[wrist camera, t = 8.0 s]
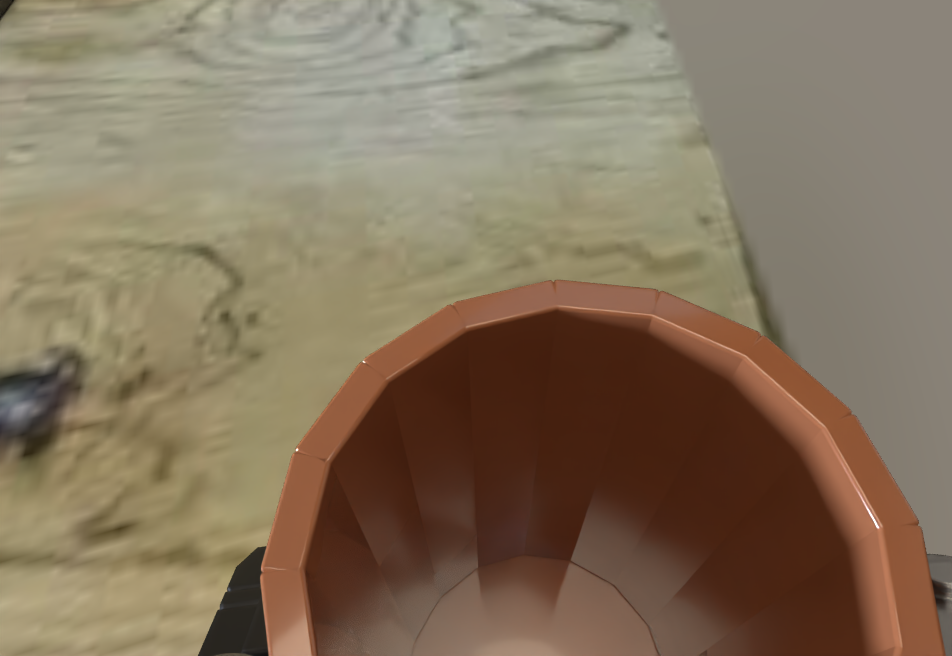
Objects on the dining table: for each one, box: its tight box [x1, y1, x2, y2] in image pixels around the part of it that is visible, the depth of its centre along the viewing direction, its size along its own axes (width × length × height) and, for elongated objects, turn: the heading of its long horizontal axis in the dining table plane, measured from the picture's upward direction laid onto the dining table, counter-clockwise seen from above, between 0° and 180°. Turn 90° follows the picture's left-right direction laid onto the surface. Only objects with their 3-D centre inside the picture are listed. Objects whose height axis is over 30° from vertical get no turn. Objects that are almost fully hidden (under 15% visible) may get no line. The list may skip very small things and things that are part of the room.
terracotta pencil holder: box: [260, 280, 946, 656], centre depth 11 cm, size 6×6×10 cm
